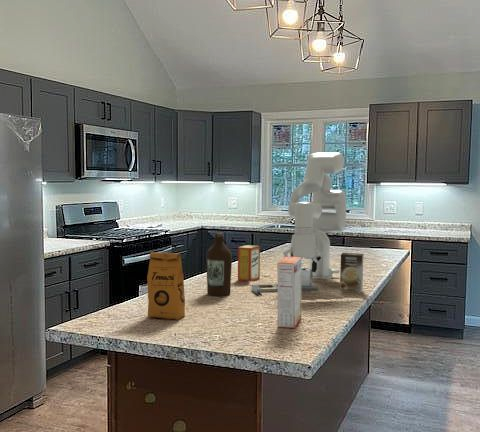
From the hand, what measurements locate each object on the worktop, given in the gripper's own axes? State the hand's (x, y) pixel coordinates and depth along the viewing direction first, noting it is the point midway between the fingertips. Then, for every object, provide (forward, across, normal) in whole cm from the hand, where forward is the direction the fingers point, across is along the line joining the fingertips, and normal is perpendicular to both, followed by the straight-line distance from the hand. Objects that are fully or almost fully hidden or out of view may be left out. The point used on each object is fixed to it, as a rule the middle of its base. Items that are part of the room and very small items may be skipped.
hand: (302, 272), depth 223 cm
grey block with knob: (+7, 0, -1) cm, 7 cm away
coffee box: (+8, -20, +3) cm, 22 cm away
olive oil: (+9, +36, -1) cm, 37 cm away
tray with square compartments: (+8, +8, -1) cm, 11 cm away
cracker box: (+10, +20, +47) cm, 52 cm away
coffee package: (+10, +58, +33) cm, 68 cm away
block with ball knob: (+8, -4, -10) cm, 13 cm away
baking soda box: (+8, +16, -31) cm, 36 cm away
